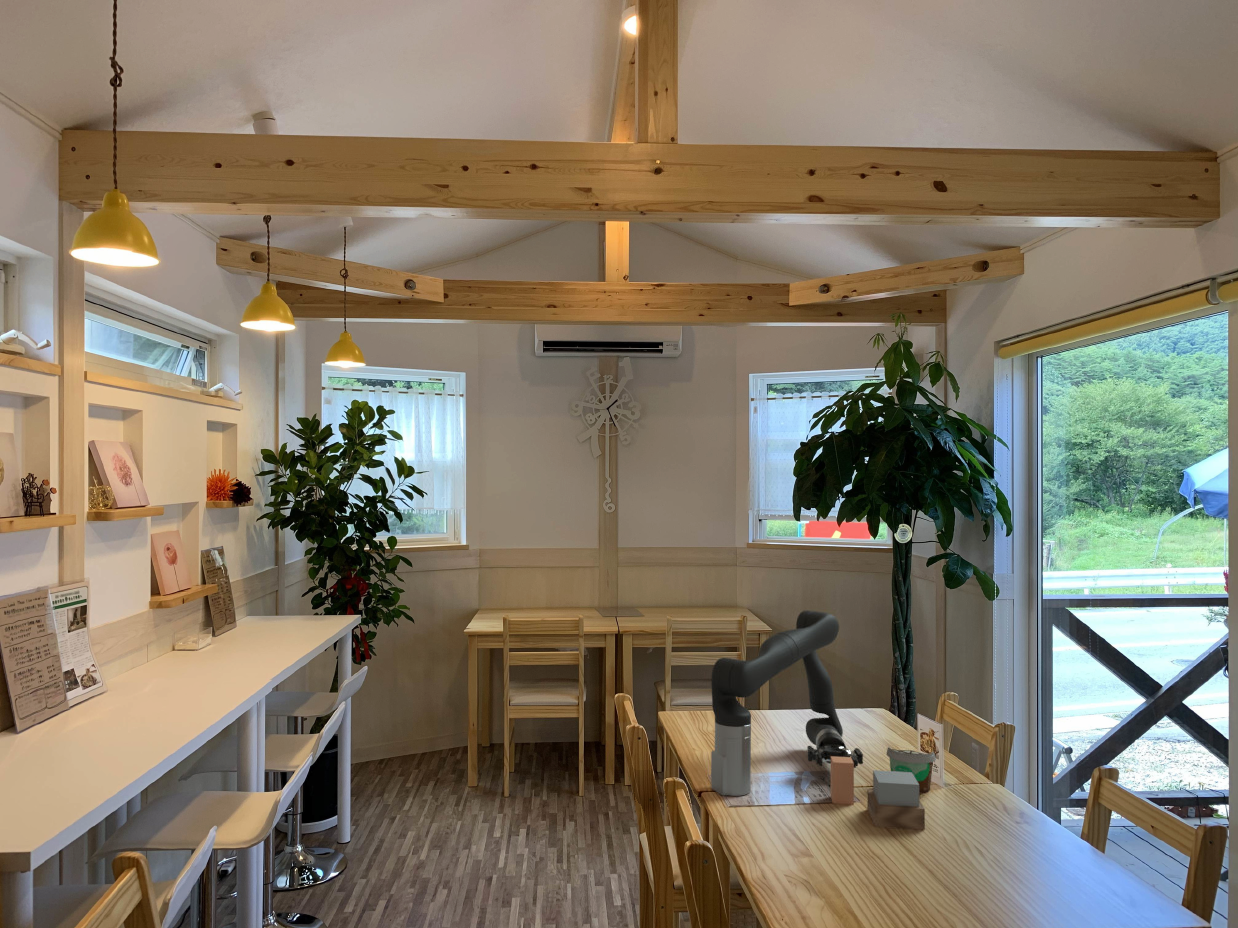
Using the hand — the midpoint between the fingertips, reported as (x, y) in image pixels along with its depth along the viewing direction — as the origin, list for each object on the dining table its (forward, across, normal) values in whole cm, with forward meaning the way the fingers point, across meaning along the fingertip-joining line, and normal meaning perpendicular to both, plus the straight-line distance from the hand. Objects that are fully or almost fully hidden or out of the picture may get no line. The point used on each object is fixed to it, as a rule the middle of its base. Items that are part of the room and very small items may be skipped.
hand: (837, 762), depth 223 cm
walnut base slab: (+20, +11, +7) cm, 24 cm away
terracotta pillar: (+9, 0, +7) cm, 11 cm away
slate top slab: (+20, +11, +2) cm, 22 cm away
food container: (-2, +18, +7) cm, 19 cm away
